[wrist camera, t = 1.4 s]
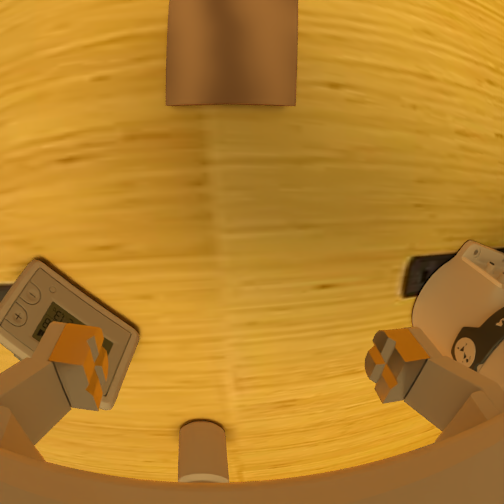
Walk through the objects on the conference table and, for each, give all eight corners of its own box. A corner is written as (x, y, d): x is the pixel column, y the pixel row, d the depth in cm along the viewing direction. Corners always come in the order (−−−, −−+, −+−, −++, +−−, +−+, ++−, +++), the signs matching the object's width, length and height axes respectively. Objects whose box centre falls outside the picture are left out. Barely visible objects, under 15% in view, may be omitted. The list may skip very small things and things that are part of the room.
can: (215, 443, 49) (218, 502, 38) (174, 435, 46) (172, 495, 36) (232, 423, 46) (238, 487, 35) (187, 413, 44) (186, 480, 33)
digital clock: (148, 334, 37) (134, 401, 27) (104, 363, 38) (86, 424, 29) (52, 237, 30) (4, 287, 20) (16, 279, 31) (-26, 331, 22)
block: (285, 9, 23) (298, -7, 19) (282, 105, 28) (295, 105, 23) (177, 7, 22) (170, -10, 18) (173, 105, 26) (165, 105, 22)
